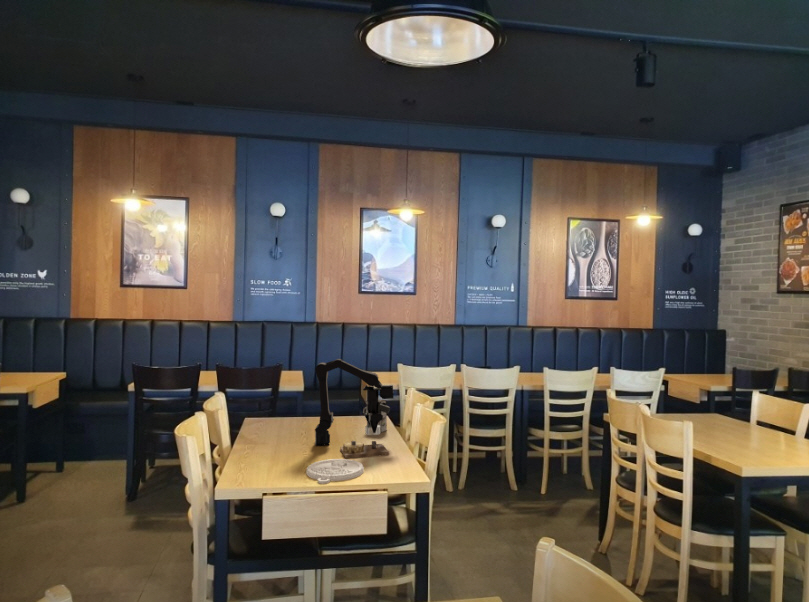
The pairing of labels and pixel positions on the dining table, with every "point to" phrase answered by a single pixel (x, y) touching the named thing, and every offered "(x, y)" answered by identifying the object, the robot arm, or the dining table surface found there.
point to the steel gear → (369, 430)
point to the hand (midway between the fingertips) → (372, 430)
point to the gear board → (363, 450)
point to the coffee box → (383, 422)
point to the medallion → (334, 470)
